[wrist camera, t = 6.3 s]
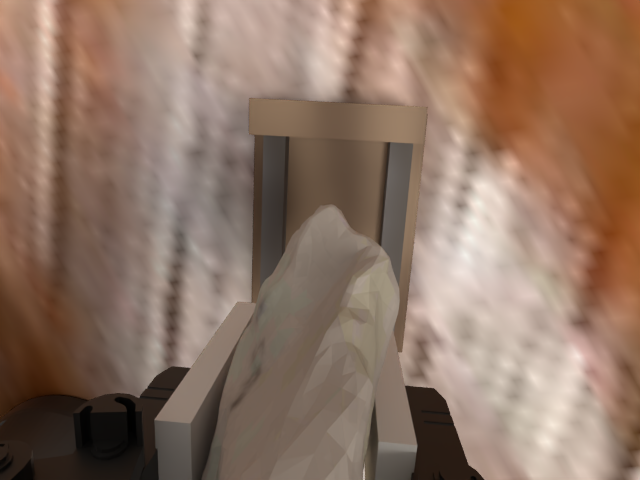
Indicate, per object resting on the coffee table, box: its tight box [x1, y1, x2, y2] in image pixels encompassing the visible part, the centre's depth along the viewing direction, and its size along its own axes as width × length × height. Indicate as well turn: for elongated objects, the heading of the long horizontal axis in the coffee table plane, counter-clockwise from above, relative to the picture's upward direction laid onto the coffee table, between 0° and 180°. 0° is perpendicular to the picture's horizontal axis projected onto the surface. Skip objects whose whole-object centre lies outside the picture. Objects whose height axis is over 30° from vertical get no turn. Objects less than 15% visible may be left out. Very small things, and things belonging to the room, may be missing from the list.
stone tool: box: [201, 204, 400, 480], centre depth 10 cm, size 11×4×15 cm, turn 171°
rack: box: [249, 98, 428, 352], centre depth 30 cm, size 12×18×7 cm, turn 177°
